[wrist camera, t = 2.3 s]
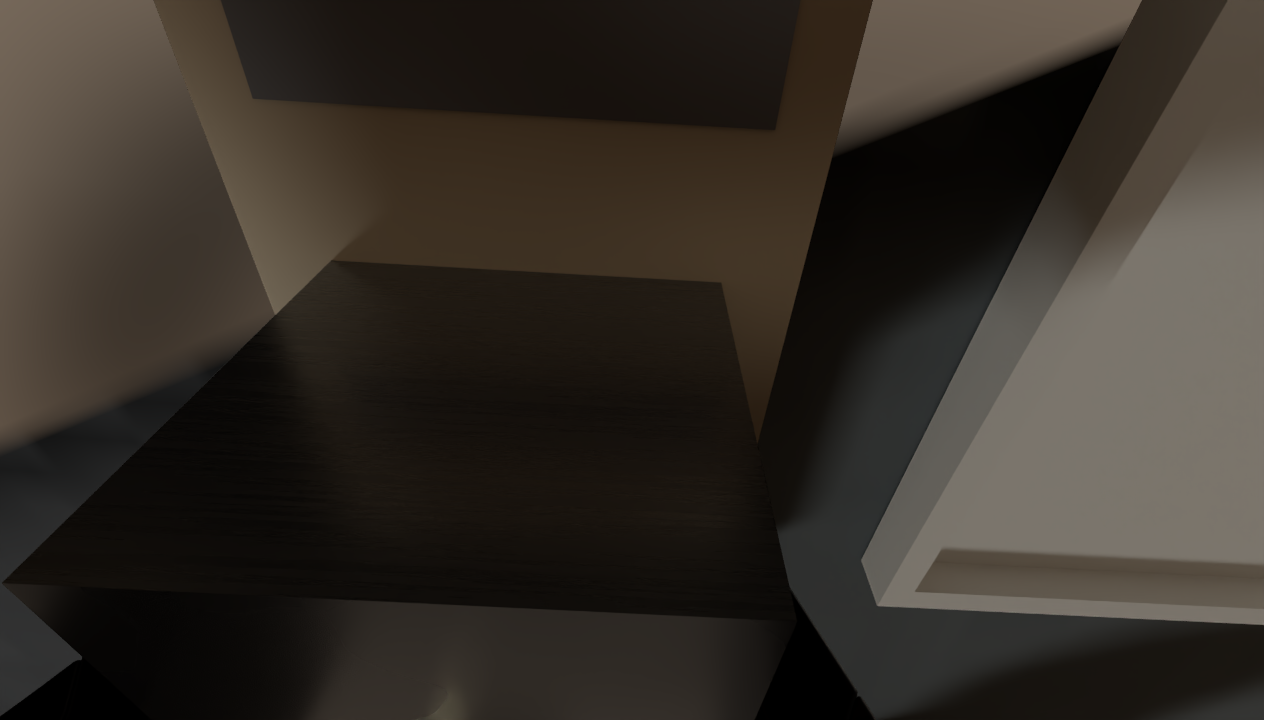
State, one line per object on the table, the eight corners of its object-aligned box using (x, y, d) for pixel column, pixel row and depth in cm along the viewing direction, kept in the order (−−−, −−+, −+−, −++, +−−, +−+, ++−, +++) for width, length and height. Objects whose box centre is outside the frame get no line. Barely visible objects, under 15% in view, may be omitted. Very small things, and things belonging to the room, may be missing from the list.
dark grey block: (670, 587, 11) (684, 973, 7) (424, 575, 11) (287, 957, 7) (721, 282, 7) (829, 771, 3) (331, 260, 7) (-148, 728, 3)
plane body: (681, 570, 18) (689, 708, 15) (462, 559, 18) (420, 696, 14) (827, -243, 7) (979, -405, 4) (279, -281, 7) (-37, -481, 4)
